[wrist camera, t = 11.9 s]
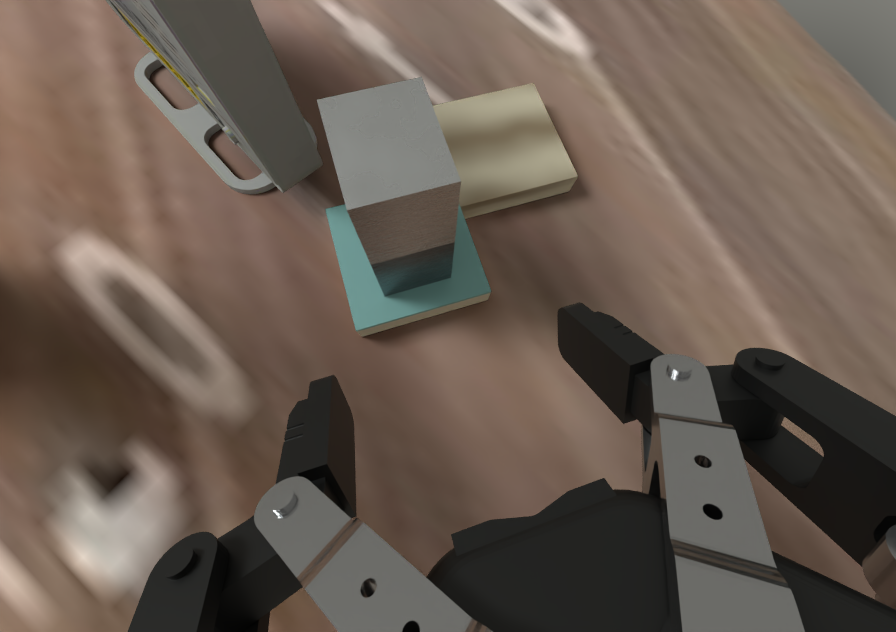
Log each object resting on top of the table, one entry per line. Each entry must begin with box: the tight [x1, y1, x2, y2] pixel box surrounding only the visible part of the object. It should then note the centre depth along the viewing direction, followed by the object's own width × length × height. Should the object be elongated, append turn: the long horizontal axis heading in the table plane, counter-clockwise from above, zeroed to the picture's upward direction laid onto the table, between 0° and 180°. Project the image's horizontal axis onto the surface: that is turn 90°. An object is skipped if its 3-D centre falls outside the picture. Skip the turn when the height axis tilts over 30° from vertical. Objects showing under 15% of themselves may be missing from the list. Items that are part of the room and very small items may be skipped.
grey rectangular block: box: [317, 77, 461, 297], centre depth 21 cm, size 6×5×11 cm
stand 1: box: [325, 204, 491, 337], centre depth 27 cm, size 10×10×2 cm
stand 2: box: [433, 83, 578, 219], centre depth 30 cm, size 10×10×2 cm
